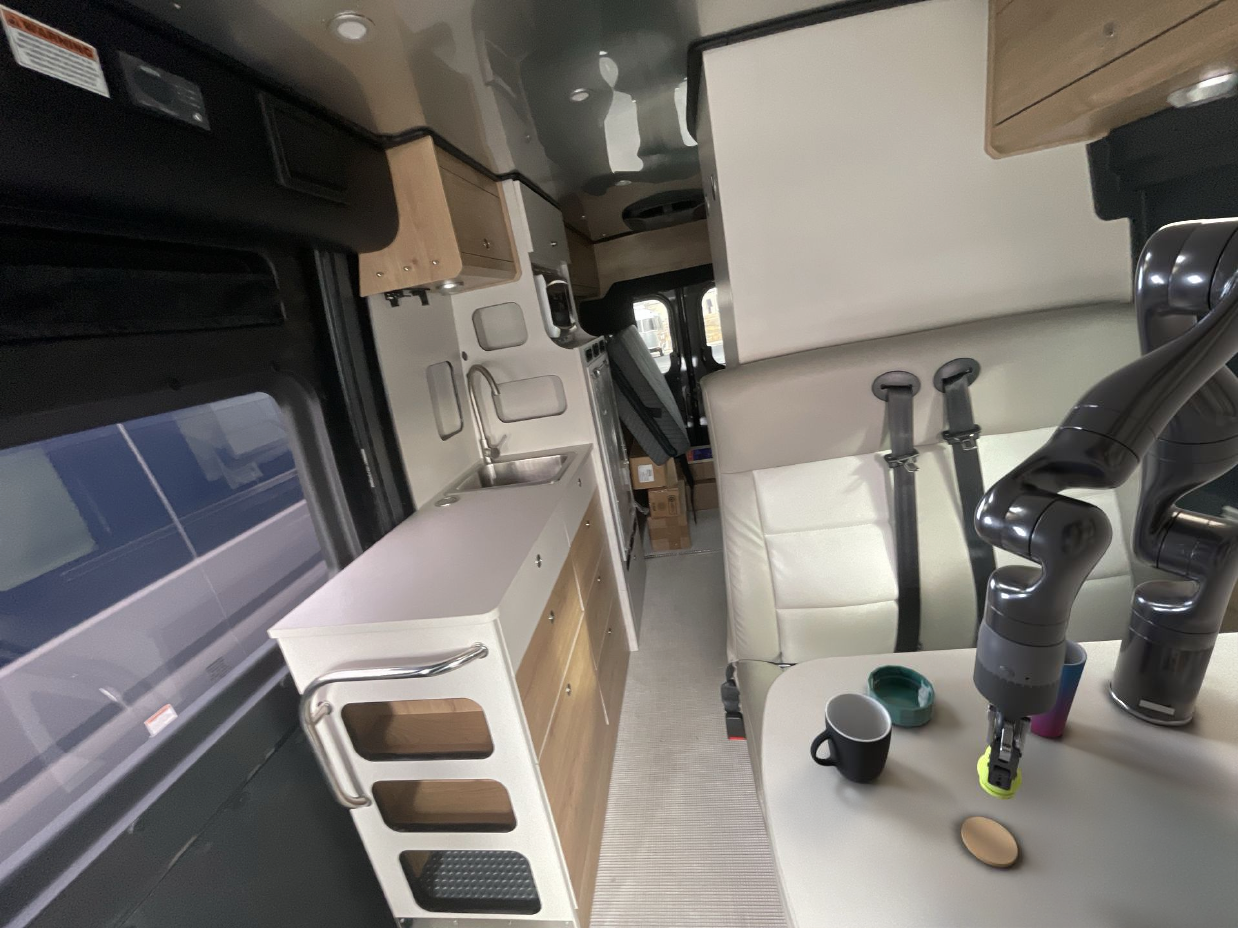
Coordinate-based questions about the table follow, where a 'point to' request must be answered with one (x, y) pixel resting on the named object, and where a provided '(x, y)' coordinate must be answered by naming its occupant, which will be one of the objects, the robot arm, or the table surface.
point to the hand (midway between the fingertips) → (1000, 768)
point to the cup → (1062, 693)
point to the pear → (990, 788)
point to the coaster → (989, 841)
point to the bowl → (902, 694)
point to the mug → (855, 736)
